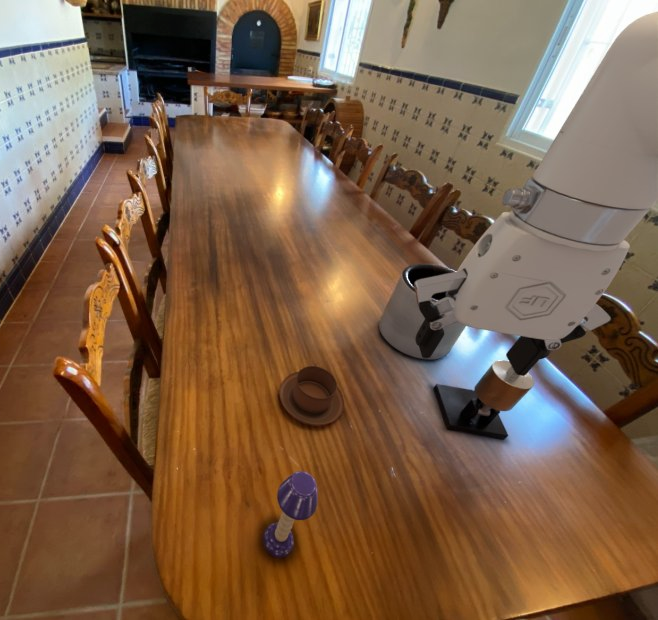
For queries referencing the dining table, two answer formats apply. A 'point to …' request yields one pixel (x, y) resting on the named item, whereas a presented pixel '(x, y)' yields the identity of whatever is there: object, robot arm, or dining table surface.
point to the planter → (414, 314)
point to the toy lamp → (291, 512)
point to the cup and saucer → (312, 396)
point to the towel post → (502, 387)
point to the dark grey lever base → (467, 413)
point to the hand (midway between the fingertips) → (467, 357)
